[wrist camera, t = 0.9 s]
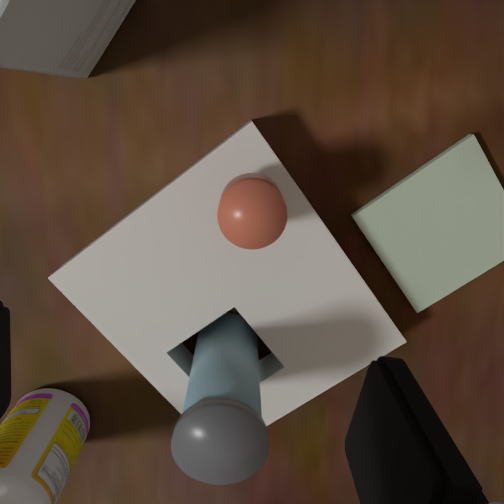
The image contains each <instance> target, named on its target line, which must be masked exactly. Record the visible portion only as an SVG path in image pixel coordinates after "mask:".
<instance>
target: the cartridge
mask: <svg viewBox="0 0 504 504" xmlns="http://www.w3.org/2000/svg"><path fill="white" fill-rule="evenodd" d="M268 449H269V443H268V431H267V427H266V424H265V422H264V420H263V418H262V412H261V394H260V376H259V359H258V341H257V333H256V332H255V331H254V330H253V329H252V327H251V326H250V325H249V324H248V323H247V321H246V320H245V319H244V318H243V317H242V316H241V315H238V314H234V313H225V314H223V315H222V316H220V317H219V318H217V319H216V320H214V321H213V322H211V323H210V324H208V325H207V326H205V327H204V328H202V329H201V330H199V332H198V337H197V342H196V347H195V352H194V357H193V362H192V367H191V372H190V377H189V382H188V387H187V392H186V397H185V402H184V408H183V413H182V414H181V416H180V417H179V418H178V420H177V422H176V424H175V427H174V431H173V436H172V441H171V451H172V455H173V458H174V460H175V462H176V464H177V465H178V467H179V468H180V469H181V470H182V471H183V472H184V473H186V474H187V475H188V476H190V477H192V478H194V479H196V480H198V481H201V482H204V483H208V484H214V485H226V484H233V483H237V482H240V481H242V480H245V479H247V478H249V477H250V476H252V475H253V474H255V473H256V472H257V471H258V470H259V469H260V468H261V467H262V465H263V464H264V462H265V460H266V458H267V455H268Z"/></svg>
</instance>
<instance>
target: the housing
mask: <svg viewBox="0 0 504 504" xmlns="http://www.w3.org/2000/svg"><path fill="white" fill-rule="evenodd" d="M246 173H258V174H262V175H264V176H266V177H268V178H270V179H271V180H272V181H273V182H274V183H275V184H276V185H277V186H278V188H279V190H280V192H281V194H282V197H283V199H284V201H285V204H286V207H287V223H286V226H285V229H284V231H283V233H282V234H281V236H280V237H279V238H278V239H277V240H276V241H275V242H273V243H272V244H270V245H269V246H267V247H264V248H261V249H252V250H251V249H244V248H240V247H238V246H236V245H234V244H232V243H231V242H230V241H229V240H227V239H226V237H225V236H224V235H223V233H222V232H221V230H220V227H219V225H218V219H217V211H218V206H219V202H220V198H221V195H222V192H223V190H224V188H225V187H226V185H227V184H228V183H229V182H230V181H231V180H232V179H234V178H235V177H237V176H239V175H242V174H246ZM48 279H49V280H50V281H51V282H52V283H53V284H54V285H55V286H56V287H57V288H58V289H59V290H60V291H61V292H62V293H63V294H64V295H65V296H66V297H67V298H68V299H69V300H70V301H71V302H72V303H73V304H74V305H75V306H76V307H77V308H78V309H79V311H80V312H81V313H82V314H83V315H84V316H85V317H86V318H87V319H88V320H89V321H90V322H91V323H92V324H93V325H94V326H95V327H96V328H97V329H98V330H99V331H100V332H101V333H102V334H103V335H104V336H105V337H106V338H107V339H108V340H109V341H110V342H111V343H112V344H113V345H114V346H115V347H116V348H117V349H118V350H119V351H120V352H121V353H122V354H123V355H124V356H125V357H126V358H127V359H128V361H129V362H130V363H131V364H132V365H133V366H134V367H135V368H136V369H137V370H138V371H139V372H140V373H141V374H142V375H143V376H144V377H145V378H146V379H147V380H148V381H149V382H150V383H151V384H152V385H153V386H154V387H155V388H156V389H157V390H158V391H159V392H160V393H161V394H162V395H163V396H164V397H165V398H166V399H167V400H168V401H169V402H170V403H171V404H172V405H173V406H174V407H175V408H176V410H177V411H178V412H179V413H180V414H182V413H183V408H184V402H185V397H186V392H187V387H188V382H189V377H190V372H191V367H192V362H193V357H194V356H193V354H192V353H191V352H190V351H189V350H188V349H187V348H186V347H185V346H184V345H183V344H182V342H183V341H185V340H186V339H188V338H189V337H191V336H192V335H194V334H195V333H196V332H198V331H199V330H201V329H202V328H204V327H205V326H207V325H208V324H210V323H211V322H213V321H214V320H216V319H217V318H219V317H220V316H222V315H223V314H225V313H226V312H228V311H229V310H231V309H232V308H234V307H235V308H236V309H237V311H238V312H239V313H240V314H241V315H242V317H243V318H244V319H245V320H246V321H247V323H248V324H249V325H250V326H251V327H252V329H253V330H254V331H255V332H256V333H257V335H258V336H259V337H260V338H261V339H262V341H263V342H264V343H265V344H266V345H267V347H268V348H269V349H270V350H271V351H272V353H270V354H269V355H267V356H266V357H264V358H262V359H261V360H259V376H260V394H261V412H262V418H263V420H264V422H265V424H266V426H267V425H269V424H271V423H272V422H274V421H276V420H277V419H279V418H281V417H282V416H284V415H286V414H287V413H289V412H291V411H292V410H294V409H296V408H297V407H299V406H301V405H302V404H304V403H306V402H307V401H309V400H311V399H312V398H314V397H316V396H317V395H319V394H321V393H322V392H324V391H326V390H327V389H329V388H331V387H332V386H334V385H336V384H337V383H339V382H341V381H342V380H344V379H346V378H347V377H349V376H351V375H352V374H354V373H356V372H357V371H359V370H361V369H362V368H364V367H366V366H367V365H369V364H370V363H371V361H373V360H375V361H376V360H377V359H378V358H379V357H380V356H384V355H386V354H387V353H389V352H391V351H392V350H394V349H396V348H397V347H399V346H401V345H402V344H404V343H406V340H405V339H404V337H403V336H402V334H401V333H400V332H399V330H398V329H397V327H396V326H395V324H394V323H393V321H392V320H391V318H390V317H389V316H388V314H387V313H386V311H385V310H384V308H383V307H382V306H381V304H380V303H379V301H378V300H377V298H376V297H375V296H374V294H373V293H372V291H371V290H370V288H369V287H368V286H367V284H366V283H365V281H364V280H363V278H362V277H361V276H360V274H359V273H358V271H357V270H356V269H355V267H354V266H353V264H352V263H351V261H350V260H349V259H348V257H347V256H346V254H345V253H344V251H343V250H342V249H341V247H340V246H339V244H338V243H337V241H336V240H335V239H334V237H333V236H332V234H331V233H330V231H329V230H328V229H327V227H326V226H325V224H324V223H323V221H322V220H321V219H320V217H319V216H318V214H317V213H316V211H315V210H314V209H313V207H312V206H311V204H310V203H309V201H308V200H307V199H306V197H305V196H304V194H303V193H302V191H301V190H300V189H299V187H298V186H297V184H296V183H295V181H294V180H293V179H292V177H291V176H290V174H289V173H288V171H287V170H286V169H285V167H284V166H283V164H282V163H281V161H280V160H279V159H278V157H277V156H276V154H275V153H274V152H273V150H272V149H271V147H270V146H269V144H268V143H267V142H266V140H265V139H264V137H263V136H262V134H261V133H260V132H259V130H258V129H257V127H256V126H255V124H254V123H253V122H252V120H250V121H249V122H247V123H246V124H245V125H244V126H242V127H241V128H240V129H238V130H237V131H236V132H234V133H233V134H232V135H231V136H229V137H228V138H227V139H225V140H224V141H223V142H221V143H220V144H219V145H218V146H216V147H215V148H214V149H212V150H211V151H210V152H208V153H207V154H206V155H205V156H203V157H202V158H201V159H199V160H198V161H197V162H195V163H194V164H193V165H192V166H190V167H189V168H188V169H186V170H185V171H184V172H182V173H181V174H180V175H179V176H177V177H176V178H175V179H173V180H172V181H171V182H169V183H168V184H167V185H166V186H164V187H163V188H162V189H160V190H159V191H158V192H156V193H155V194H154V195H153V196H151V197H150V198H149V199H147V200H146V201H145V202H143V203H142V204H141V205H140V206H138V207H137V208H136V209H134V210H133V211H132V212H130V213H129V214H128V215H127V216H125V217H124V218H123V219H121V220H120V221H119V222H117V223H116V224H115V225H114V226H112V227H111V228H110V229H108V230H107V231H106V232H104V233H103V234H102V235H101V236H99V237H98V238H97V239H95V240H94V241H93V242H91V243H90V244H89V245H88V246H86V247H85V248H84V249H82V250H81V251H80V252H78V253H77V254H76V255H75V256H73V257H72V258H71V259H69V260H68V261H67V262H65V263H64V264H63V265H62V266H61V267H60V268H59V269H57V270H56V271H55V272H54V273H53V274H52V275H51V276H50V277H48Z"/></svg>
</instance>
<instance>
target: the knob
mask: <svg viewBox="0 0 504 504" xmlns="http://www.w3.org/2000/svg"><path fill="white" fill-rule="evenodd" d="M217 219H218V225H219V227H220V230H221V232H222V233H223V235H224V236H225V237H226V239H227V240H229V241H230V242H231V243H232V244H234V245H236V246H238V247H240V248H244V249H251V250H252V249H261V248H264V247H267V246H269V245H270V244H272V243H273V242H275V241H276V240H277V239H278V238H279V237H280V236H281V234H282V233H283V231H284V229H285V226H286V223H287V207H286V204H285V201H284V199H283V197H282V194H281V192H280V190H279V188H278V186H277V185H276V184H275V183H274V182H273V181H272V180H271V179H270V178H268V177H266V176H264V175H262V174H258V173H246V174H242V175H239V176H237V177H235V178H234V179H232V180H231V181H230V182H229V183H228V184H227V185H226V187H225V188H224V190H223V192H222V195H221V198H220V202H219V206H218V211H217Z"/></svg>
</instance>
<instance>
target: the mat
mask: <svg viewBox="0 0 504 504" xmlns="http://www.w3.org/2000/svg"><path fill="white" fill-rule="evenodd" d="M351 216H352V218H353V219H354V221H355V222H356V224H357V225H358V226H359V228H360V229H361V231H362V232H363V234H364V235H365V237H366V238H367V240H368V241H369V243H370V244H371V246H372V247H373V249H374V250H375V252H376V253H377V255H378V256H379V258H380V259H381V261H382V262H383V264H384V265H385V267H386V268H387V270H388V271H389V273H390V274H391V276H392V277H393V278H394V280H395V281H396V283H397V284H398V286H399V287H400V289H401V290H402V292H403V293H404V295H405V296H406V298H407V299H408V301H409V302H410V304H411V305H412V307H413V308H414V310H415V311H416V312H417V313H419V312H420V311H422V310H424V309H425V308H427V307H428V306H430V305H432V304H433V303H435V302H437V301H438V300H440V299H442V298H443V297H445V296H446V295H448V294H450V293H451V292H453V291H455V290H456V289H458V288H460V287H461V286H463V285H464V284H466V283H468V282H469V281H471V280H473V279H474V278H476V277H478V276H479V275H481V274H482V273H484V272H486V271H487V270H489V269H491V268H492V267H494V266H496V265H497V264H499V263H500V262H502V261H504V190H503V188H502V186H501V184H500V182H499V180H498V179H497V177H496V175H495V173H494V171H493V169H492V167H491V165H490V164H489V162H488V160H487V158H486V156H485V154H484V152H483V150H482V149H481V147H480V145H479V143H478V141H477V139H476V137H475V136H474V134H468V135H467V136H465V137H464V138H463V139H461V140H460V141H458V142H457V143H455V144H454V145H452V146H451V147H449V148H448V149H446V150H445V151H443V152H442V153H441V154H439V155H438V156H436V157H435V158H433V159H432V160H430V161H429V162H427V163H426V164H424V165H423V166H421V167H420V168H419V169H417V170H416V171H414V172H413V173H411V174H410V175H408V176H407V177H405V178H404V179H402V180H401V181H399V182H398V183H397V184H395V185H394V186H392V187H391V188H389V189H388V190H386V191H385V192H383V193H382V194H380V195H379V196H377V197H376V198H375V199H373V200H372V201H370V202H369V203H367V204H366V205H364V206H363V207H361V208H360V209H358V210H357V211H355V212H354V213H353V214H351Z"/></svg>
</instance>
